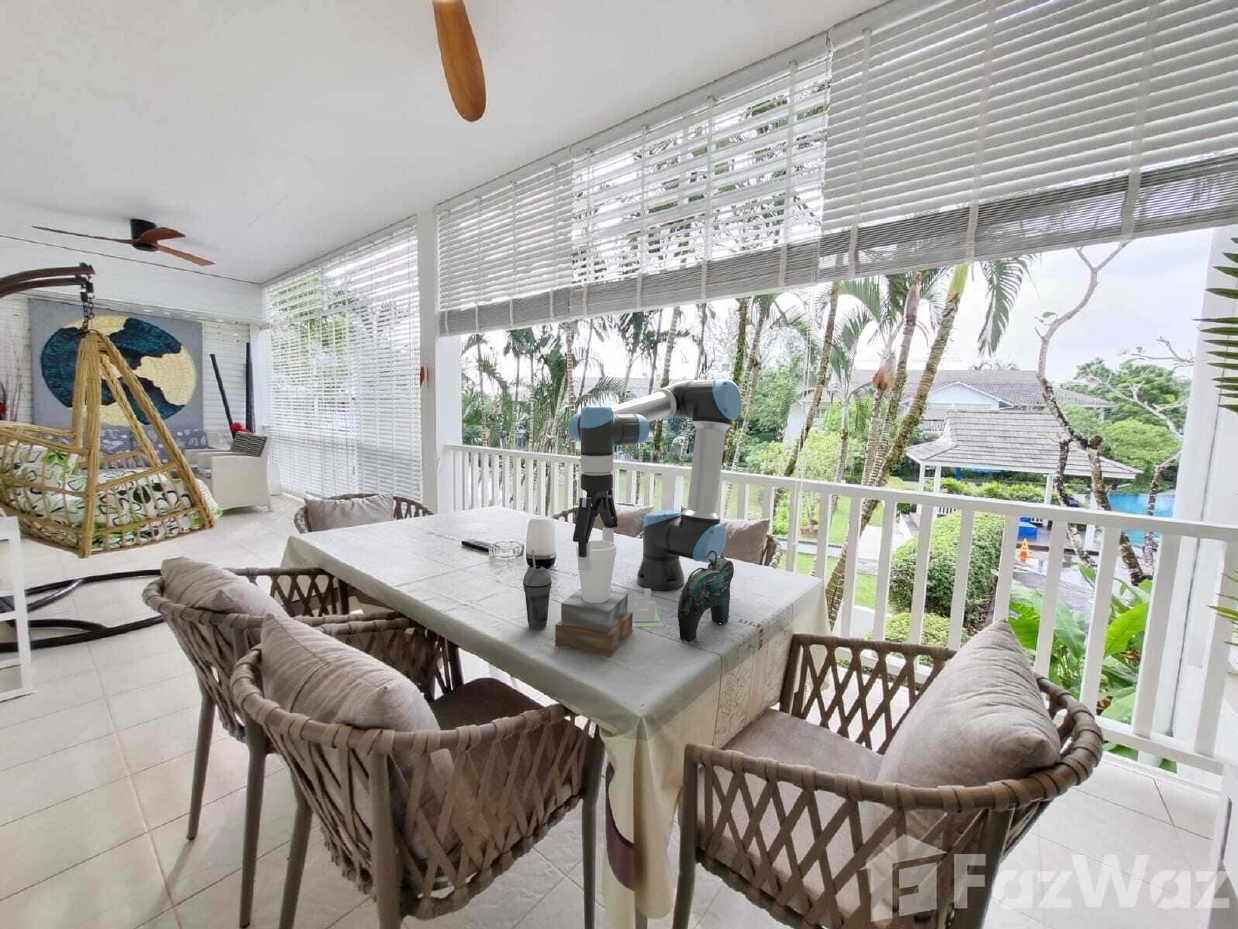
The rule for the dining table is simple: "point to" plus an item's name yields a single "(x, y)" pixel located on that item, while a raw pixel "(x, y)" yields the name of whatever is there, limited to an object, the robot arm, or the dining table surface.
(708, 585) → the green elephant statue
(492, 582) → the dining table surface
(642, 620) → the castle model
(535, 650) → the dining table surface
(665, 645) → the dining table surface
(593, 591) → the foam cup
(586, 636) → the block tower
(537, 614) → the beverage cup
